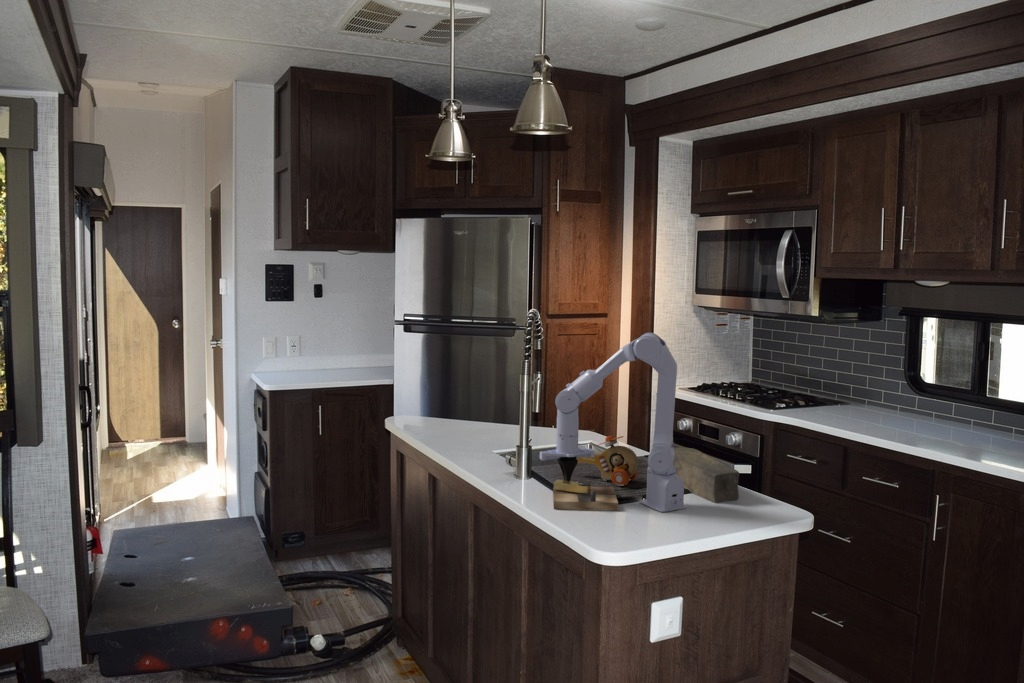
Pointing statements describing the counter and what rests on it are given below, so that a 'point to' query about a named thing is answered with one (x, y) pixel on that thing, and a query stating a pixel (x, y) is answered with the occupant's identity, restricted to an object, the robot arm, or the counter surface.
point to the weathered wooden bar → (706, 475)
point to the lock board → (586, 499)
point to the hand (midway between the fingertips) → (566, 485)
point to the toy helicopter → (614, 462)
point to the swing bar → (573, 486)
